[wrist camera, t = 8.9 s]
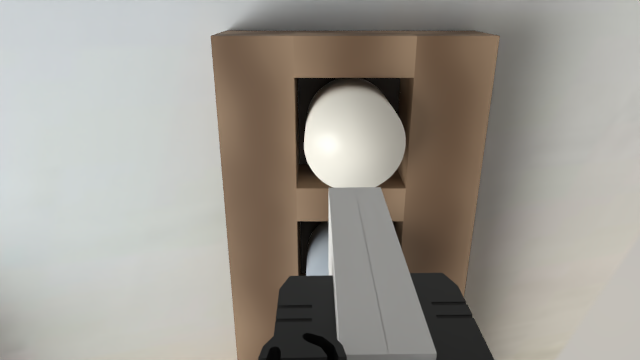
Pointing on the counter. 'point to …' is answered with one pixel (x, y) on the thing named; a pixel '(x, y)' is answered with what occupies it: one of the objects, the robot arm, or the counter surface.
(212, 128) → the counter surface
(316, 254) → the button slate
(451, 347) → the robot arm
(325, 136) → the button cream
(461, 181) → the console
